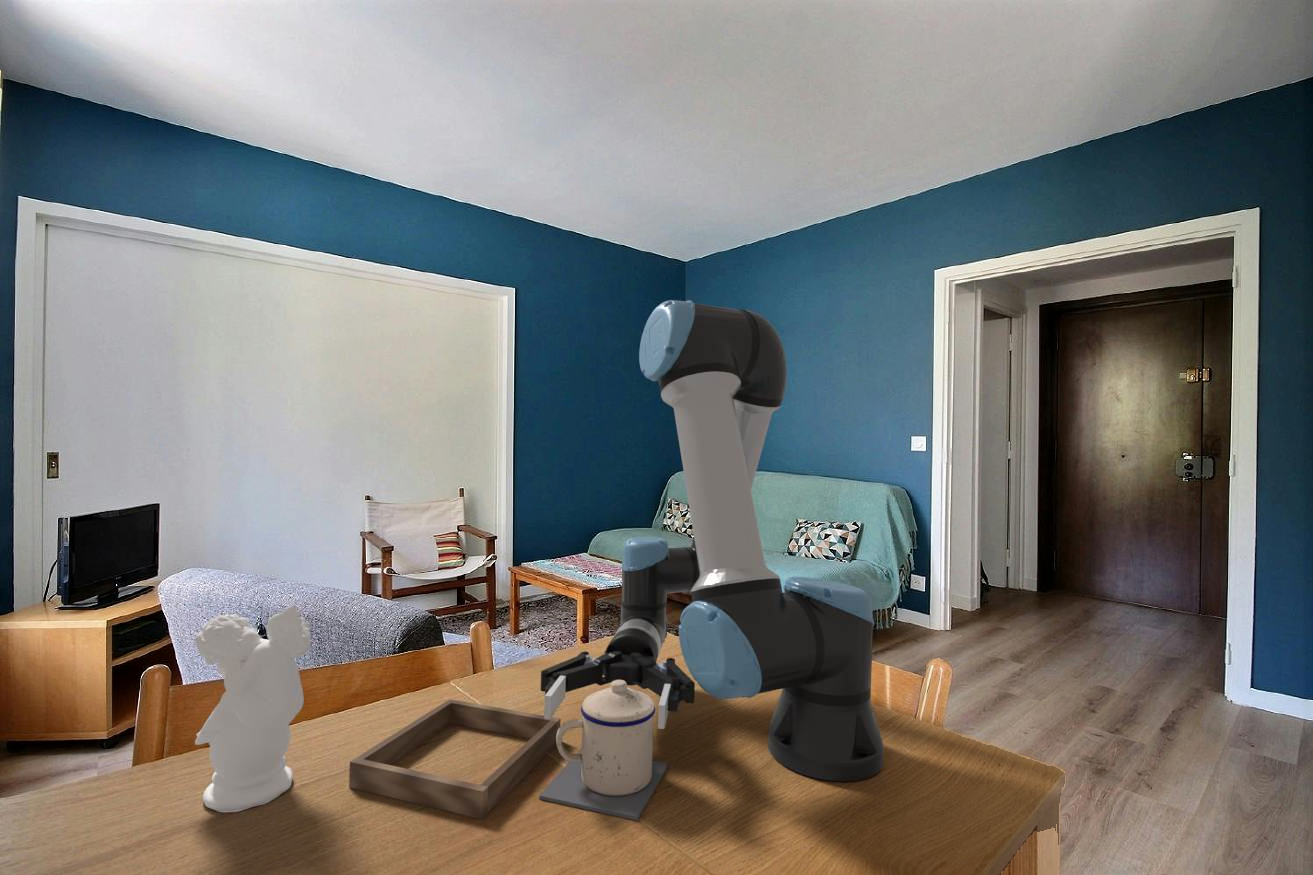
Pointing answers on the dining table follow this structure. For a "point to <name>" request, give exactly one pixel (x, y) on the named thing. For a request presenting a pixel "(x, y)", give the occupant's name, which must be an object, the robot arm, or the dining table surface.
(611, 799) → the charcoal mat
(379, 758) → the walnut box
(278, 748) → the cherub figurine
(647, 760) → the teacup with lid
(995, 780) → the dining table surface
